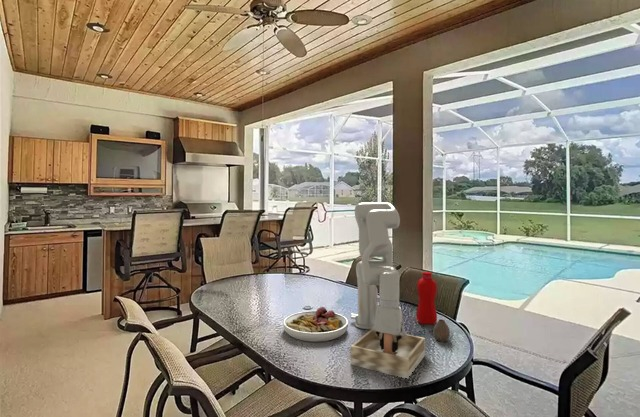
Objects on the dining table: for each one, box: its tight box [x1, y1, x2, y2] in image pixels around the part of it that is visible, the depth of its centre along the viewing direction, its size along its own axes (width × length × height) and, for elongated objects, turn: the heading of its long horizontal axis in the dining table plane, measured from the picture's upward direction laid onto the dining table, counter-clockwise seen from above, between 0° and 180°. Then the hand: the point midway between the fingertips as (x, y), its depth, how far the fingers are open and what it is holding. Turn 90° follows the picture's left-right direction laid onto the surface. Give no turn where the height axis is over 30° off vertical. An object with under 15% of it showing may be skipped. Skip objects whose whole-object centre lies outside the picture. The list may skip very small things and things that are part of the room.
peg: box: [384, 333, 394, 355], centre depth 145 cm, size 4×4×10 cm
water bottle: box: [416, 271, 438, 325], centre depth 187 cm, size 9×11×25 cm
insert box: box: [350, 329, 426, 380], centre depth 145 cm, size 22×22×7 cm
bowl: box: [283, 306, 349, 343], centre depth 175 cm, size 30×30×8 cm
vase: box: [432, 318, 451, 343], centre depth 164 cm, size 7×7×9 cm
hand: (388, 349), depth 145 cm, fingers closed on peg, 4 cm apart
